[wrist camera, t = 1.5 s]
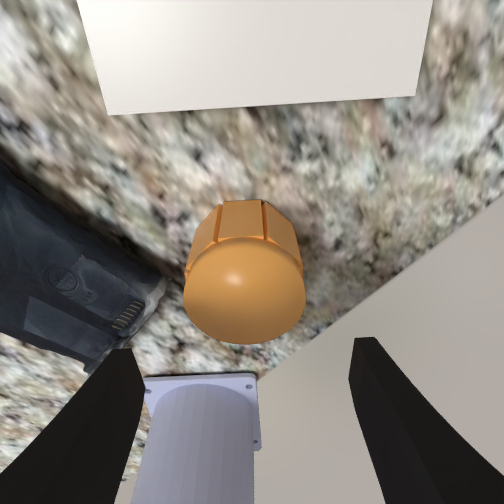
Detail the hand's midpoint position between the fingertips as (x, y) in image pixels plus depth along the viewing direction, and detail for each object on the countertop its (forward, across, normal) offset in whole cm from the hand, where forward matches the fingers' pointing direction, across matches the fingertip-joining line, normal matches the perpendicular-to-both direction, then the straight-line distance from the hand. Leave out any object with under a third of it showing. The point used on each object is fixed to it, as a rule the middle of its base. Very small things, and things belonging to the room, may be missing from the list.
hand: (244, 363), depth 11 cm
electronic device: (+8, +12, -1) cm, 15 cm away
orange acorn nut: (+8, 0, 0) cm, 8 cm away
